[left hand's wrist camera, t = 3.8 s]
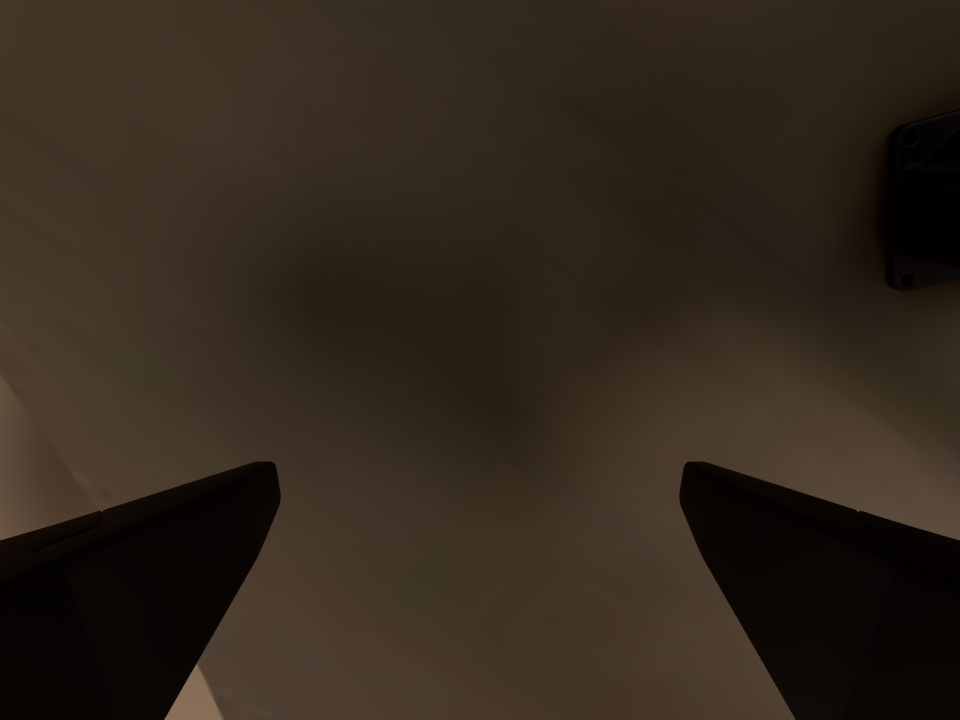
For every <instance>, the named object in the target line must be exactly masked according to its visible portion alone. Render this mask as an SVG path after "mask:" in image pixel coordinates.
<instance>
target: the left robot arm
mask: <svg viewBox="0 0 960 720" xmlns="http://www.w3.org/2000/svg"><path fill="white" fill-rule="evenodd" d="M908 132H910V134H911V138H910V140H909V142H908V143H907V144H906V143H905V136H906V135H907V133H908ZM887 249H888V284H889V286H890V287H891V288H893V289H896V290H899V291H902V292H903V291H910V290H914V289H918V288H923V287H927V286H931V285H935V284H939V283H943V282H947V281H952V280H956V279H960V109H957V110H954V111H950V112H946V113H943V114H939V115H935V116H932V117H928V118H924V119H920V120H917V121H913V122H909V123H906V124H903V125H901V126H899V127H898V128H897V129H895V130H894V132H893V134H892V135H891V139H890V169H889V188H888V195H887ZM904 275H907V277H906V279H905V280H904V282H902V283H901V279H902V277H903V276H904ZM280 499H281V494H280V487H279V481H278V475H277V469H276V466H275V464H274V463H273V462H253V463H250V464H247V465H244V466H240V467H237V468H234V469H231V470H228V471H225V472H222V473H218V474H215V475H212V476H209V477H206V478H203V479H200V480H196V481H193V482H190V483H187V484H184V485H181V486H178V487H174V488H171V489H168V490H165V491H162V492H159V493H156V494H152V495H149V496H146V497H143V498H140V499H137V500H134V501H131V502H127V503H124V504H121V505H118V506H115V507H112V508H109V509H105V510H104V511H103V512H101V511H97V512H94V513H91V514H87V515H84V516H81V517H78V518H75V519H72V520H68V521H65V522H62V523H58V524H55V525H52V526H49V527H45V528H42V529H38V530H35V531H31V532H28V533H25V534H21V535H18V536H14V537H11V538H7V539H4V540H0V720H164V719H165V717H166V716H167V714H168V712H169V711H170V709H171V707H172V705H173V703H174V702H175V700H176V698H177V697H178V695H179V693H180V691H181V690H182V688H183V686H184V684H185V683H186V681H187V679H188V677H189V676H190V674H191V672H192V671H193V669H194V667H195V665H196V664H197V662H198V660H199V658H200V657H201V655H202V653H203V651H204V650H205V648H206V646H207V644H208V643H209V641H210V639H211V637H212V636H213V634H214V632H215V630H216V629H217V627H218V625H219V624H220V622H221V620H222V618H223V617H224V615H225V613H226V611H227V610H228V608H229V606H230V604H231V603H232V601H233V599H234V597H235V596H236V594H237V592H238V590H239V589H240V587H241V585H242V584H243V582H244V580H245V578H246V577H247V575H248V573H249V571H250V570H251V568H252V566H253V564H254V563H255V561H256V559H257V557H258V555H259V553H260V551H261V548H262V546H263V544H264V541H265V539H266V536H267V534H268V532H269V529H270V527H271V524H272V522H273V520H274V517H275V515H276V512H277V510H278V508H279V505H280ZM679 499H680V505H681V508H682V510H683V512H684V515H685V517H686V520H687V522H688V524H689V527H690V529H691V532H692V534H693V536H694V539H695V541H696V544H697V546H698V548H699V551H700V553H701V555H702V557H703V559H704V561H705V563H706V564H707V566H708V568H709V570H710V571H711V573H712V575H713V577H714V578H715V580H716V582H717V584H718V585H719V587H720V589H721V590H722V592H723V594H724V596H725V597H726V599H727V601H728V603H729V604H730V606H731V608H732V610H733V611H734V613H735V615H736V617H737V618H738V620H739V622H740V624H741V625H742V627H743V629H744V631H745V632H746V634H747V636H748V637H749V639H750V641H751V643H752V644H753V646H754V648H755V650H756V651H757V653H758V655H759V657H760V658H761V660H762V662H763V664H764V665H765V667H766V669H767V671H768V672H769V674H770V676H771V677H772V679H773V681H774V683H775V684H776V686H777V688H778V690H779V691H780V693H781V695H782V697H783V698H784V700H785V702H786V704H787V705H788V707H789V709H790V711H791V712H792V714H793V716H794V717H795V719H796V720H960V540H956V539H953V538H949V537H946V536H942V535H939V534H935V533H932V532H929V531H925V530H922V529H918V528H915V527H911V526H908V525H905V524H902V523H898V522H895V521H892V520H889V519H885V518H882V517H879V516H876V515H873V514H869V513H866V512H863V511H859V512H857V511H856V510H855V509H851V508H848V507H845V506H842V505H839V504H836V503H833V502H829V501H826V500H823V499H820V498H817V497H814V496H811V495H808V494H804V493H801V492H798V491H795V490H792V489H789V488H786V487H782V486H779V485H776V484H773V483H770V482H767V481H764V480H760V479H757V478H754V477H751V476H748V475H745V474H742V473H738V472H735V471H732V470H729V469H726V468H723V467H720V466H716V465H713V464H710V463H707V462H687V463H686V464H685V466H684V469H683V475H682V481H681V487H680V494H679Z"/></svg>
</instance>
